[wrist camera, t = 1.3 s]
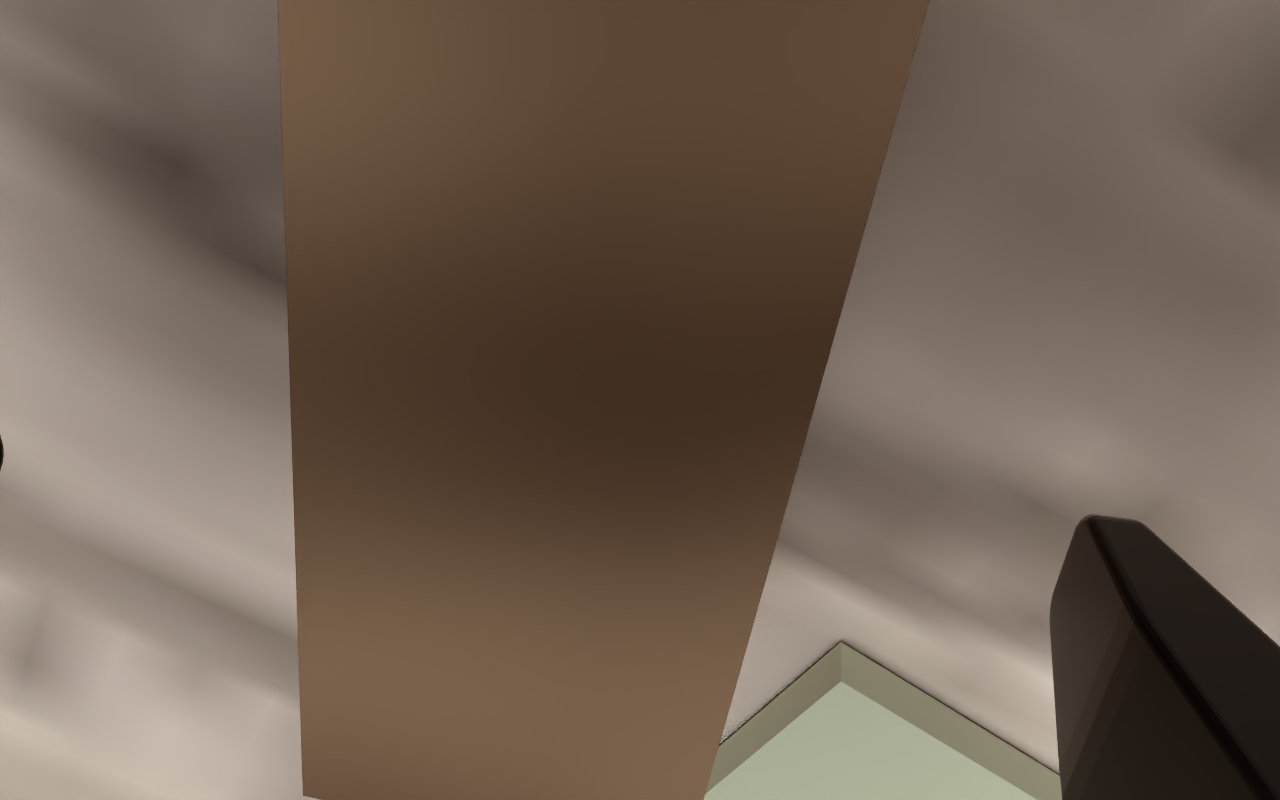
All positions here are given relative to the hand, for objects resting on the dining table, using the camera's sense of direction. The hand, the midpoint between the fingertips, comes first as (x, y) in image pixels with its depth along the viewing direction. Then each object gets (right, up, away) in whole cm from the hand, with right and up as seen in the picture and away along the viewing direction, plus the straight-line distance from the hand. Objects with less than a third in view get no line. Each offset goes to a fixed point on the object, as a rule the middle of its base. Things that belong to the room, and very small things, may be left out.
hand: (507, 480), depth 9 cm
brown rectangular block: (+1, +3, +5) cm, 6 cm away
